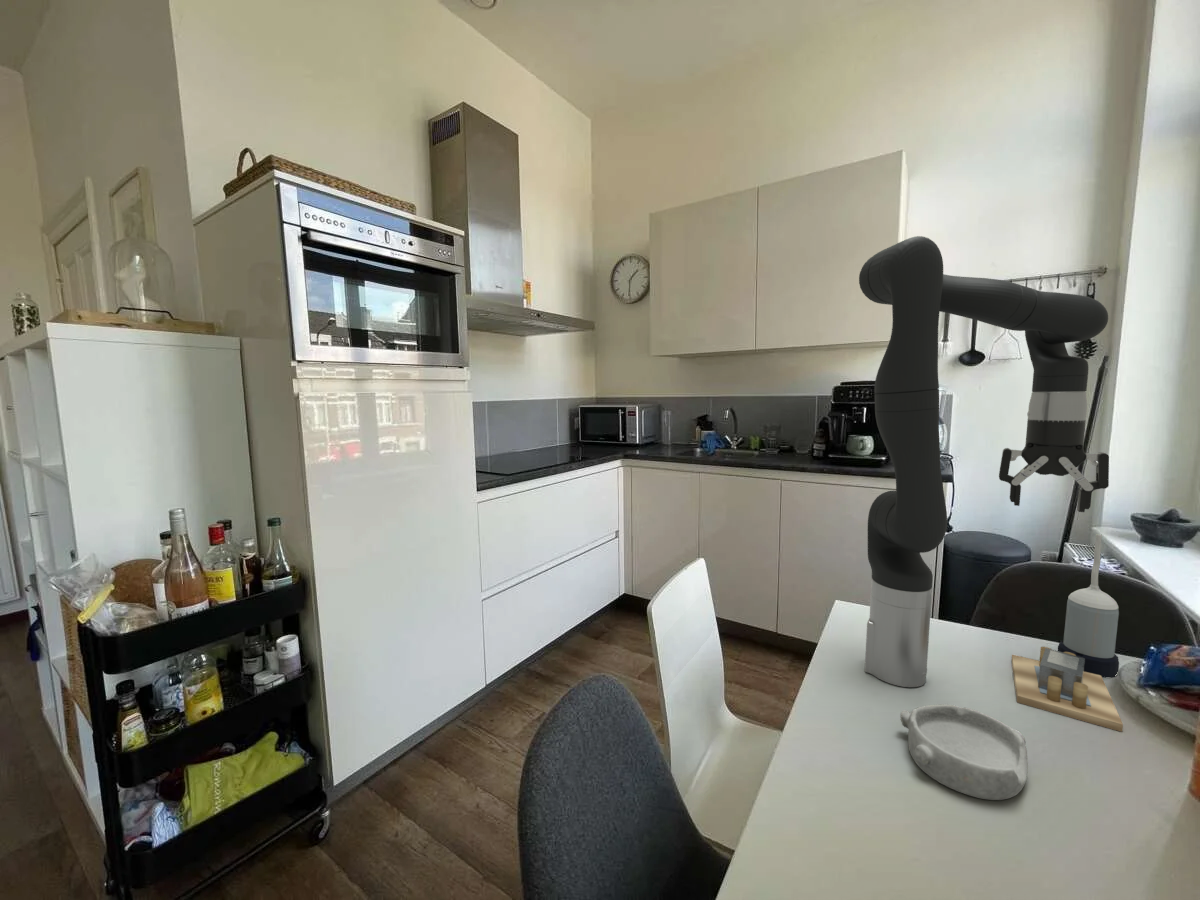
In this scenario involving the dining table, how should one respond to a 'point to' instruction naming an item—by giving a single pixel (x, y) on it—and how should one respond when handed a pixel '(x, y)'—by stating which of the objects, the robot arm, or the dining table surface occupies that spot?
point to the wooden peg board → (1084, 705)
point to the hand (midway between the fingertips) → (1047, 508)
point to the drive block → (1061, 670)
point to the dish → (967, 750)
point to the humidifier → (1092, 625)
